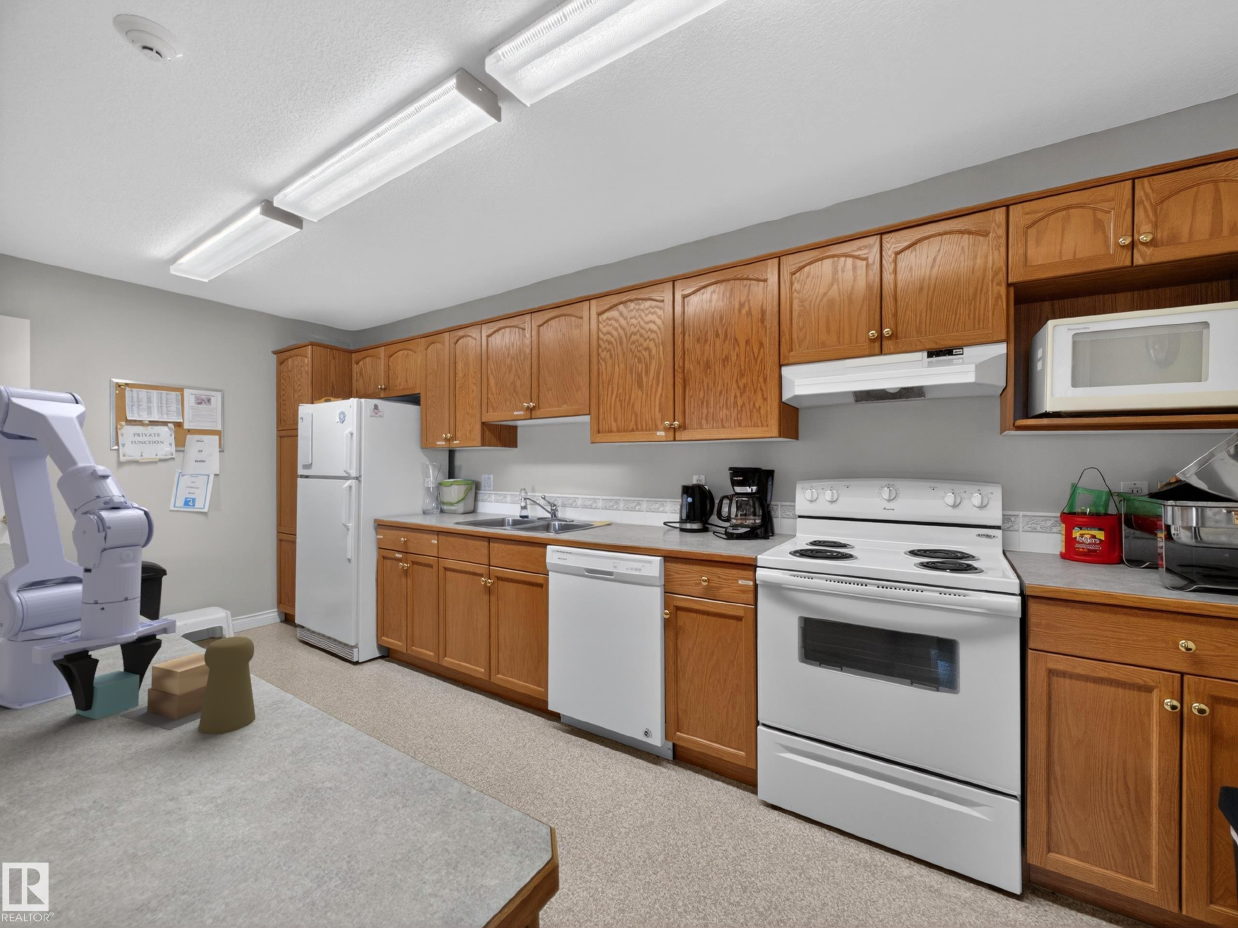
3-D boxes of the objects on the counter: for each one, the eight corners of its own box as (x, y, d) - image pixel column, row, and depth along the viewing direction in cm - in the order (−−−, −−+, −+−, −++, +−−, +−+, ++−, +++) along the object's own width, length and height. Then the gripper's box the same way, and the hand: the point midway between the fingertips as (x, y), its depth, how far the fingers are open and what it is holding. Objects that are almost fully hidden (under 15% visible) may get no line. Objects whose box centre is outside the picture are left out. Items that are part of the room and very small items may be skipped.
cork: (225, 740, 65) (228, 648, 65) (184, 734, 67) (187, 644, 67) (267, 718, 71) (270, 634, 71) (229, 712, 72) (231, 630, 73)
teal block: (75, 716, 71) (77, 681, 71) (117, 703, 75) (119, 670, 75) (96, 722, 69) (97, 687, 69) (138, 708, 73) (139, 675, 73)
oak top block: (151, 688, 72) (152, 665, 72) (196, 674, 77) (196, 652, 77) (178, 695, 70) (179, 671, 70) (222, 680, 75) (223, 658, 75)
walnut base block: (147, 711, 71) (147, 688, 71) (196, 694, 77) (197, 673, 77) (176, 719, 69) (177, 696, 69) (225, 701, 75) (225, 679, 75)
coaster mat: (119, 718, 70) (119, 715, 70) (201, 689, 80) (201, 687, 80) (169, 732, 67) (169, 729, 67) (249, 701, 76) (249, 698, 76)
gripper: (57, 615, 64) (52, 730, 64) (190, 590, 78) (187, 686, 77) (24, 608, 66) (19, 720, 66) (159, 586, 80) (156, 678, 80)
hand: (108, 701), depth 72 cm, fingers closed on teal block, 4 cm apart
